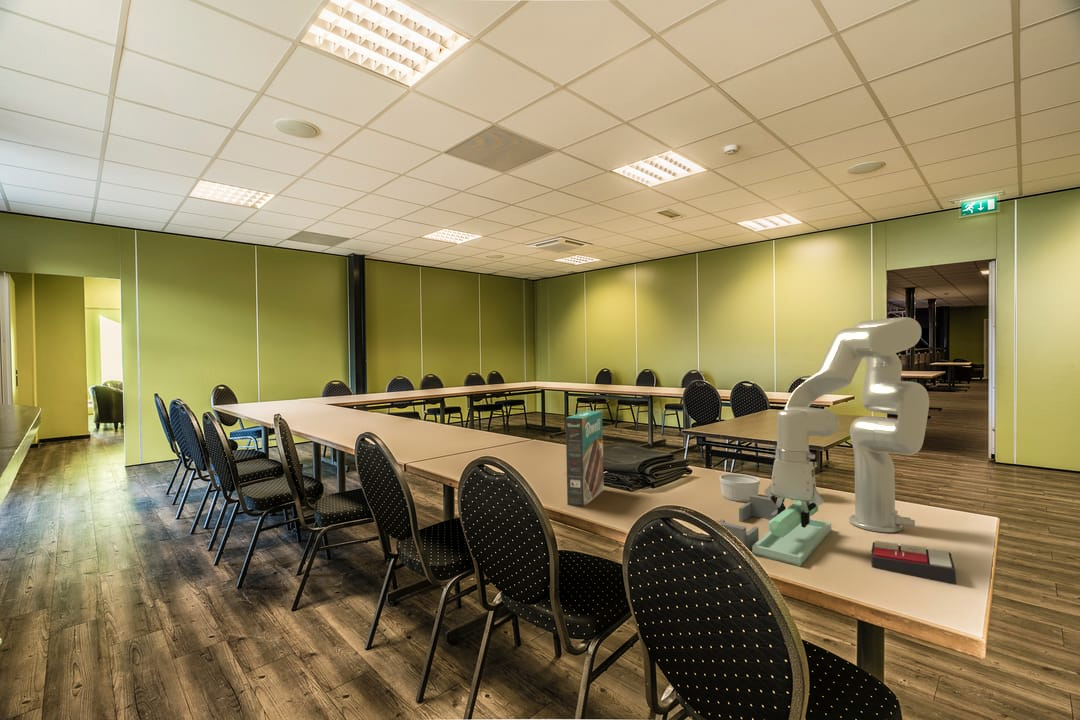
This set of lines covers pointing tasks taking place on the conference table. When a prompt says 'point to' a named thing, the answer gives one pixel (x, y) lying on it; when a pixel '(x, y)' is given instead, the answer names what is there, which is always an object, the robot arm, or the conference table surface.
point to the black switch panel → (914, 561)
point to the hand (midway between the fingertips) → (793, 523)
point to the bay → (755, 508)
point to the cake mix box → (584, 457)
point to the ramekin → (739, 486)
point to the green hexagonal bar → (788, 519)
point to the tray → (793, 543)
